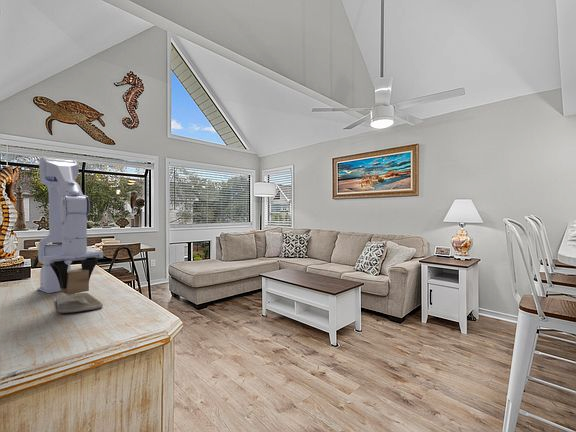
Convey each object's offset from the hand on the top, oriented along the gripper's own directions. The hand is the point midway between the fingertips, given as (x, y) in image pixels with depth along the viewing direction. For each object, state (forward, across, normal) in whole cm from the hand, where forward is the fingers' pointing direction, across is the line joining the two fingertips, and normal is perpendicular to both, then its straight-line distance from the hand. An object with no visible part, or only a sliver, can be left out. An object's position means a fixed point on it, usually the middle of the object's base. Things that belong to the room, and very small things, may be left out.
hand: (74, 286), depth 86 cm
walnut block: (+2, 0, 0) cm, 2 cm away
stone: (+6, +1, 0) cm, 6 cm away
